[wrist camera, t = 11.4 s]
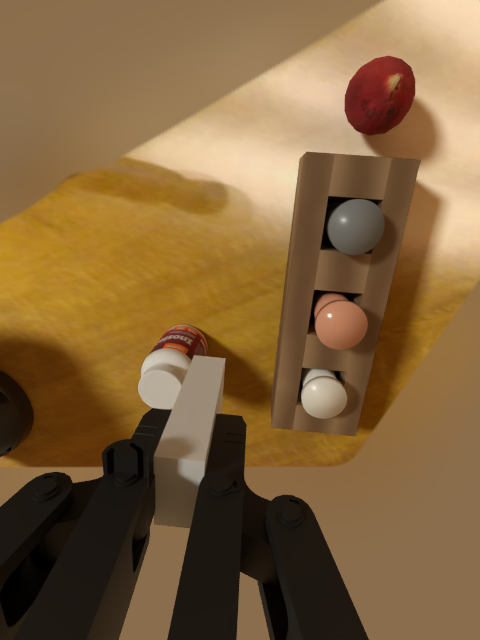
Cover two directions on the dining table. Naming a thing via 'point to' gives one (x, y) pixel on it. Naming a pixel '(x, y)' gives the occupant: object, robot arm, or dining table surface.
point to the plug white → (322, 393)
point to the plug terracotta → (338, 320)
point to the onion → (379, 95)
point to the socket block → (336, 281)
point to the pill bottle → (170, 365)
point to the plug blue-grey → (354, 225)
